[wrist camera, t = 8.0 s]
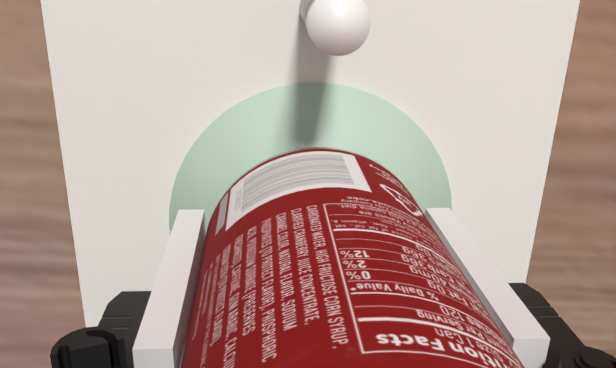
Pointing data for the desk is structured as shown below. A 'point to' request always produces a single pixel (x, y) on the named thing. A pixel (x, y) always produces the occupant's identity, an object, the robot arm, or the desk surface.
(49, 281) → the desk surface
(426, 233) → the soda can
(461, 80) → the white pegged board
